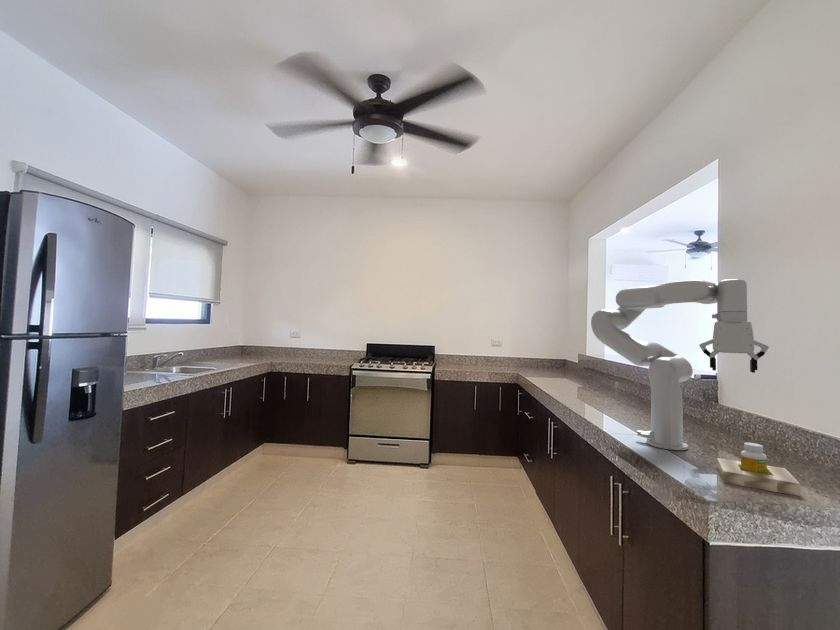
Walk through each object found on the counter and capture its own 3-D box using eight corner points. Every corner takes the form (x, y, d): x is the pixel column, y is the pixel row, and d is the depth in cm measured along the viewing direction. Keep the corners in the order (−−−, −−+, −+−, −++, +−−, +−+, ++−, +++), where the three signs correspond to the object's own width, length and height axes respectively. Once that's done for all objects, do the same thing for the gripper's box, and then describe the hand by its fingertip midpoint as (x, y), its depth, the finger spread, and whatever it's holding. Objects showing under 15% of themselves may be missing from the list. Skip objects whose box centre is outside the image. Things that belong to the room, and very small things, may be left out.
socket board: (723, 482, 103) (723, 471, 103) (717, 468, 115) (717, 457, 115) (800, 496, 95) (800, 483, 95) (785, 479, 107) (785, 468, 107)
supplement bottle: (760, 485, 102) (759, 447, 102) (736, 478, 107) (736, 442, 107) (771, 482, 104) (770, 446, 104) (748, 476, 109) (747, 441, 109)
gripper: (699, 317, 126) (700, 370, 125) (770, 317, 117) (771, 374, 116) (698, 318, 132) (698, 368, 132) (765, 318, 123) (766, 372, 122)
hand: (733, 371), depth 124 cm, fingers open, 9 cm apart
